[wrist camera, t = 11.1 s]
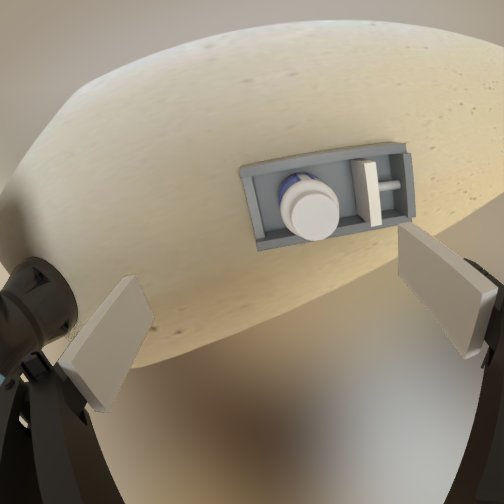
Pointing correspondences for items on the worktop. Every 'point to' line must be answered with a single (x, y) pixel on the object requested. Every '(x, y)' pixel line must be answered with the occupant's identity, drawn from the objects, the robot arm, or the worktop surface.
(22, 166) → the worktop surface
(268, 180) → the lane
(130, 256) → the worktop surface
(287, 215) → the pill bottle
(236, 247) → the worktop surface
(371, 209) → the pusher
